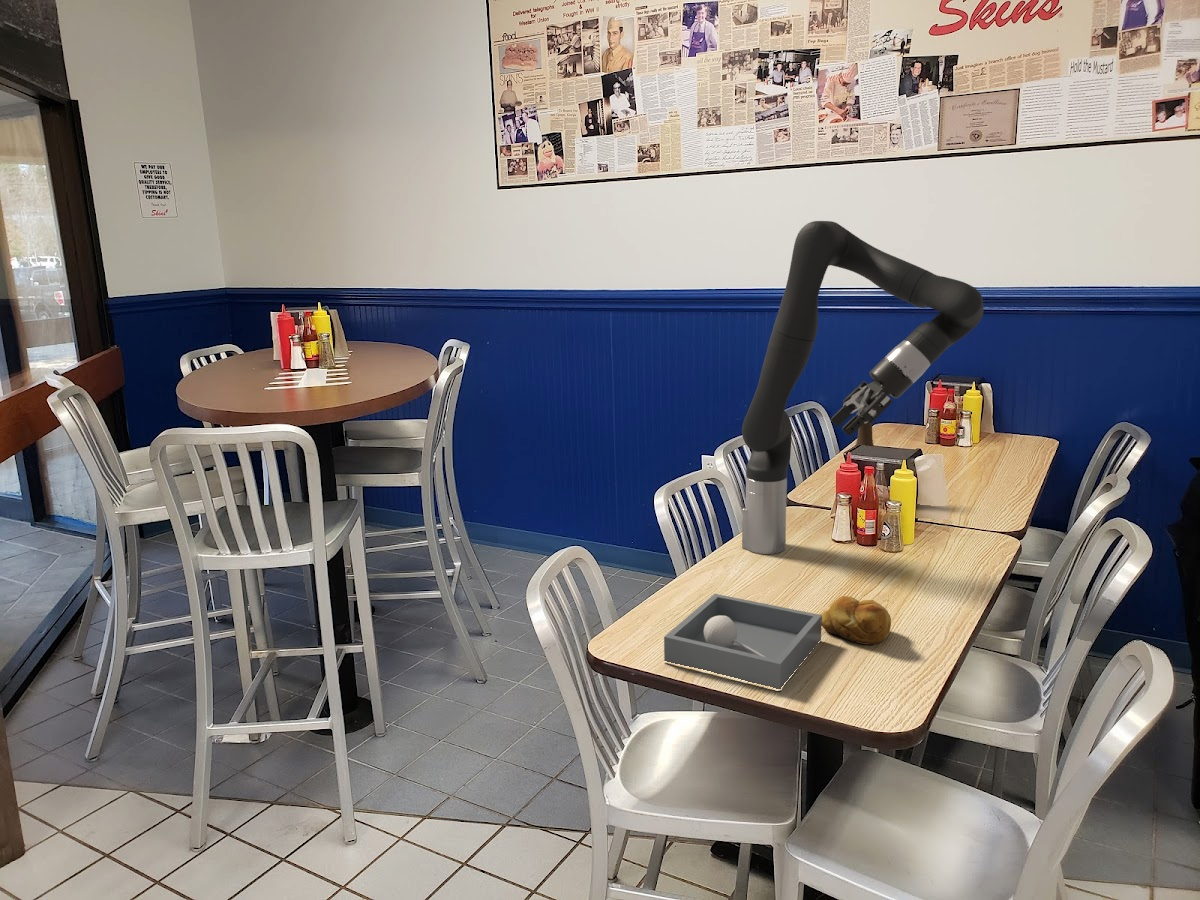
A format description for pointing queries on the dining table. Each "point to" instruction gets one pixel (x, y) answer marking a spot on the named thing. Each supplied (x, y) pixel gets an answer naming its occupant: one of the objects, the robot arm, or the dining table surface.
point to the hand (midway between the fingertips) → (839, 428)
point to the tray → (746, 640)
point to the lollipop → (723, 633)
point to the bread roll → (857, 620)
